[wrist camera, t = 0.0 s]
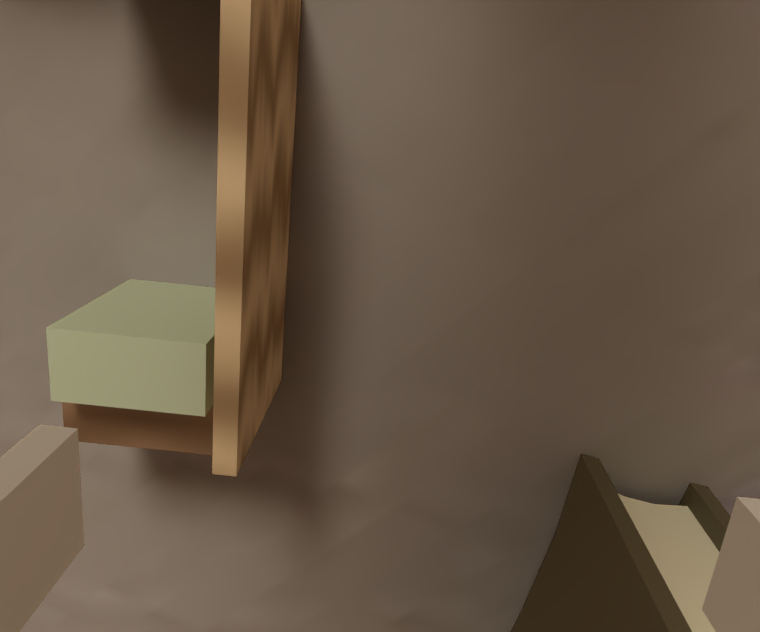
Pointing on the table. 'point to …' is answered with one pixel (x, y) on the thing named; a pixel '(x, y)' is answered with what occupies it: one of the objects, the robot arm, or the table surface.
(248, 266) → the shelf
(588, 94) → the table surface
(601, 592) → the book
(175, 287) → the book green
